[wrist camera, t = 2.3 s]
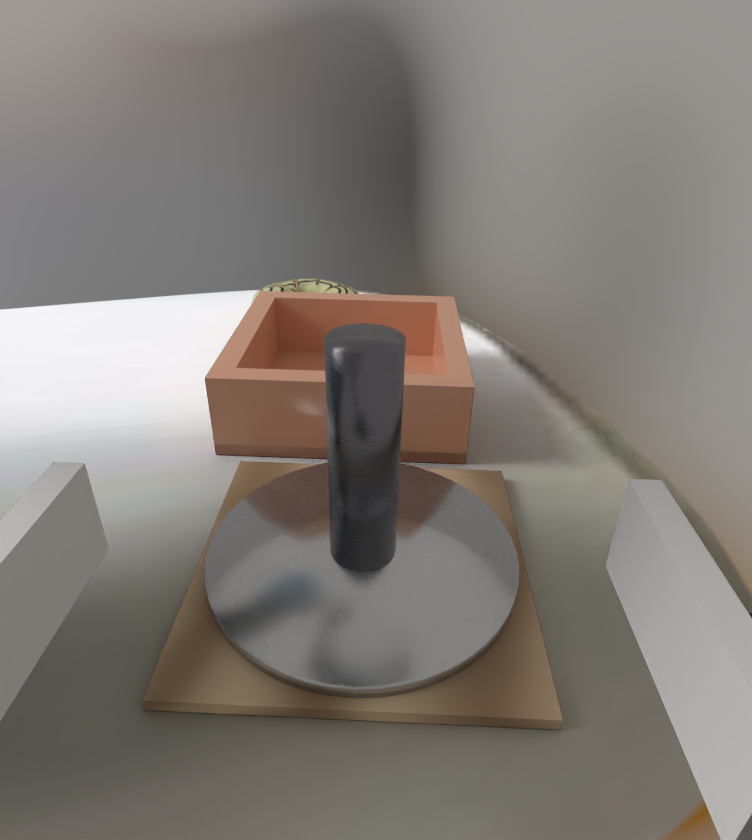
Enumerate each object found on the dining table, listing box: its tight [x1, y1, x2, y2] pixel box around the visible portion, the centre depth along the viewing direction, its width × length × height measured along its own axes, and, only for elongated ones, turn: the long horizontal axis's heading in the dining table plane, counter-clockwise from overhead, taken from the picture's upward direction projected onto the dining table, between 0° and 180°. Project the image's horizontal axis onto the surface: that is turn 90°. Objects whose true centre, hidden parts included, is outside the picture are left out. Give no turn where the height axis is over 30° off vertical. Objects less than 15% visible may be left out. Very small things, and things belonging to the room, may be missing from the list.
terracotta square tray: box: [205, 291, 474, 464], centre depth 43 cm, size 16×16×6 cm
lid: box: [204, 323, 519, 698], centre depth 26 cm, size 15×15×12 cm
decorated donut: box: [252, 278, 359, 303], centre depth 56 cm, size 10×11×4 cm
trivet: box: [142, 461, 563, 730], centre depth 29 cm, size 16×16×1 cm
